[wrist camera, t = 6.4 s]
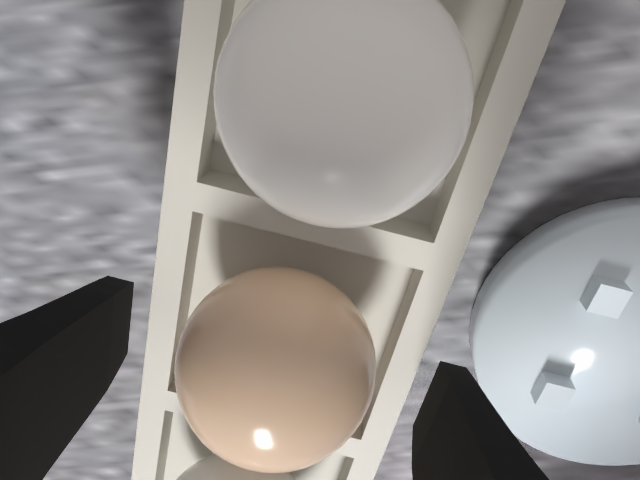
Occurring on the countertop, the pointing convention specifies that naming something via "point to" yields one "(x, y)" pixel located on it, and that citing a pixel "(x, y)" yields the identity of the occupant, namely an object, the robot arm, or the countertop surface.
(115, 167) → the countertop surface
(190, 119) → the carton
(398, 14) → the egg white near
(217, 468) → the egg white far
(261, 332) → the egg brown
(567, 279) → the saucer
